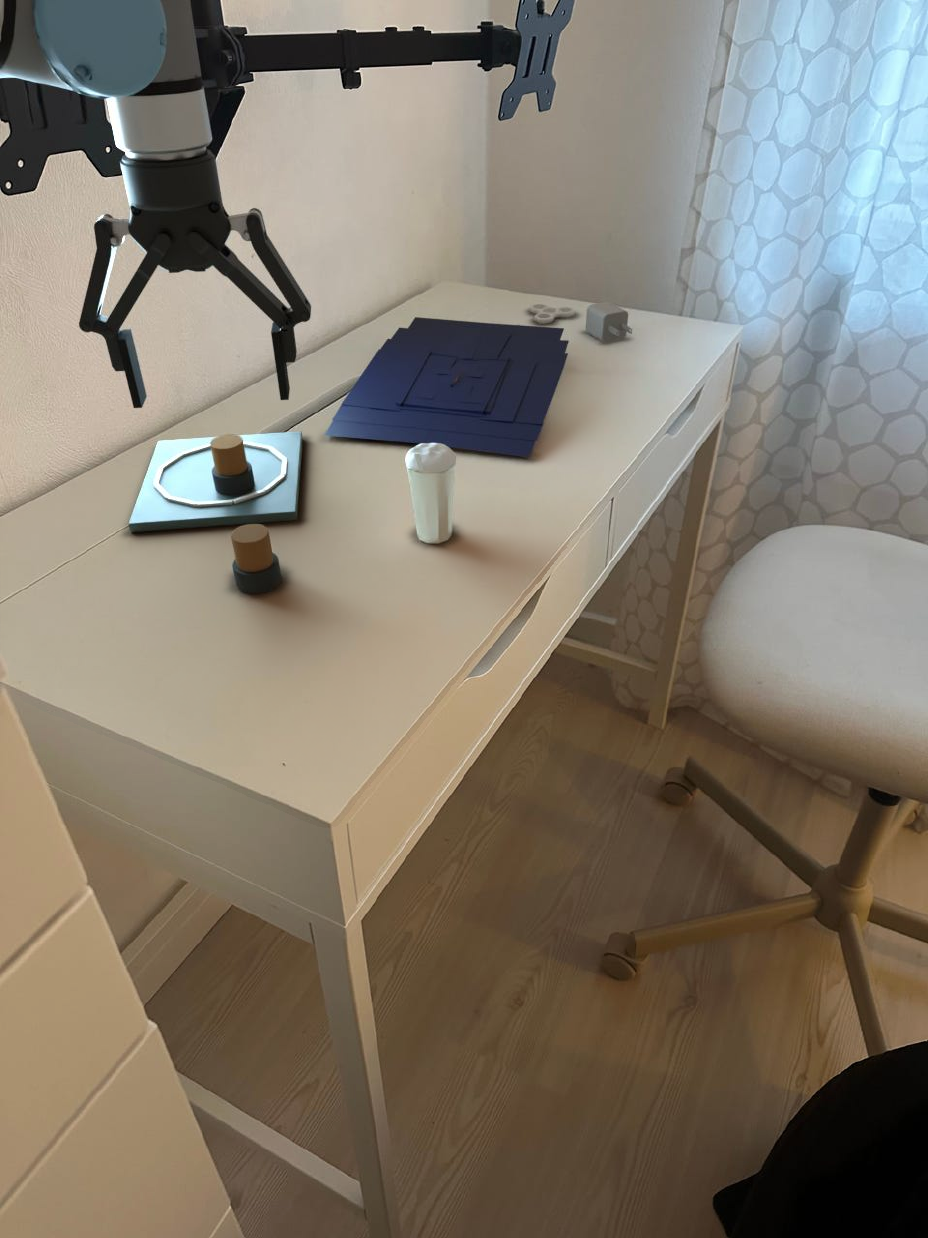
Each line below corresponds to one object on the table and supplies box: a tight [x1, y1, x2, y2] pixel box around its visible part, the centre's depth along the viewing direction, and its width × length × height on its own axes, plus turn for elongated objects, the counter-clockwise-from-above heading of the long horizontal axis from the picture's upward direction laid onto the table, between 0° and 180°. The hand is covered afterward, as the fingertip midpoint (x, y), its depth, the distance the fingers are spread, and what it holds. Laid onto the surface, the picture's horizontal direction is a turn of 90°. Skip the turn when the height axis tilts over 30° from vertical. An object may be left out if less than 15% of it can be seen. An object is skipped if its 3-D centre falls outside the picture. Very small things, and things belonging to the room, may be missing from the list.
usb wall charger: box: [585, 301, 633, 344], centre depth 124 cm, size 4×7×4 cm, turn 25°
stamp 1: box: [210, 434, 255, 496], centre depth 90 cm, size 4×4×5 cm
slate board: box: [128, 430, 303, 533], centre depth 94 cm, size 16×18×1 cm
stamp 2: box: [230, 523, 282, 595], centre depth 78 cm, size 4×4×5 cm
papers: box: [324, 316, 570, 458], centre depth 110 cm, size 24×30×4 cm
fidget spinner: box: [528, 303, 576, 324], centre depth 132 cm, size 7×6×1 cm
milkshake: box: [404, 443, 457, 544], centre depth 82 cm, size 4×5×10 cm
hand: (213, 398), depth 85 cm, fingers open, 13 cm apart
